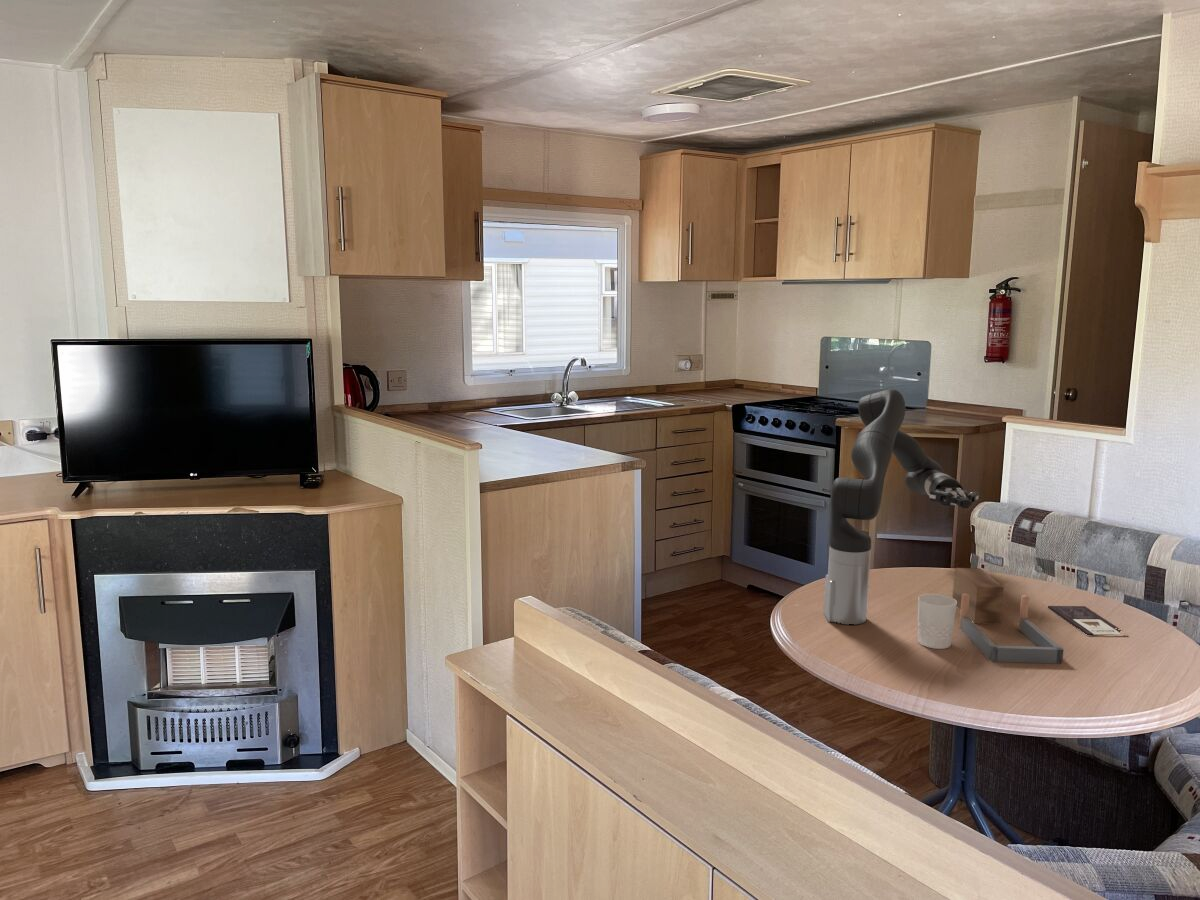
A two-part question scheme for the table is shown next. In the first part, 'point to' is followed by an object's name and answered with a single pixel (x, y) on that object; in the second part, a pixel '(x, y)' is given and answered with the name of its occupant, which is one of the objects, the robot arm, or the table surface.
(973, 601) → the walnut block
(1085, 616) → the chocolate bar
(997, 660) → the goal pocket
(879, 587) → the table surface
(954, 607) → the white cup
